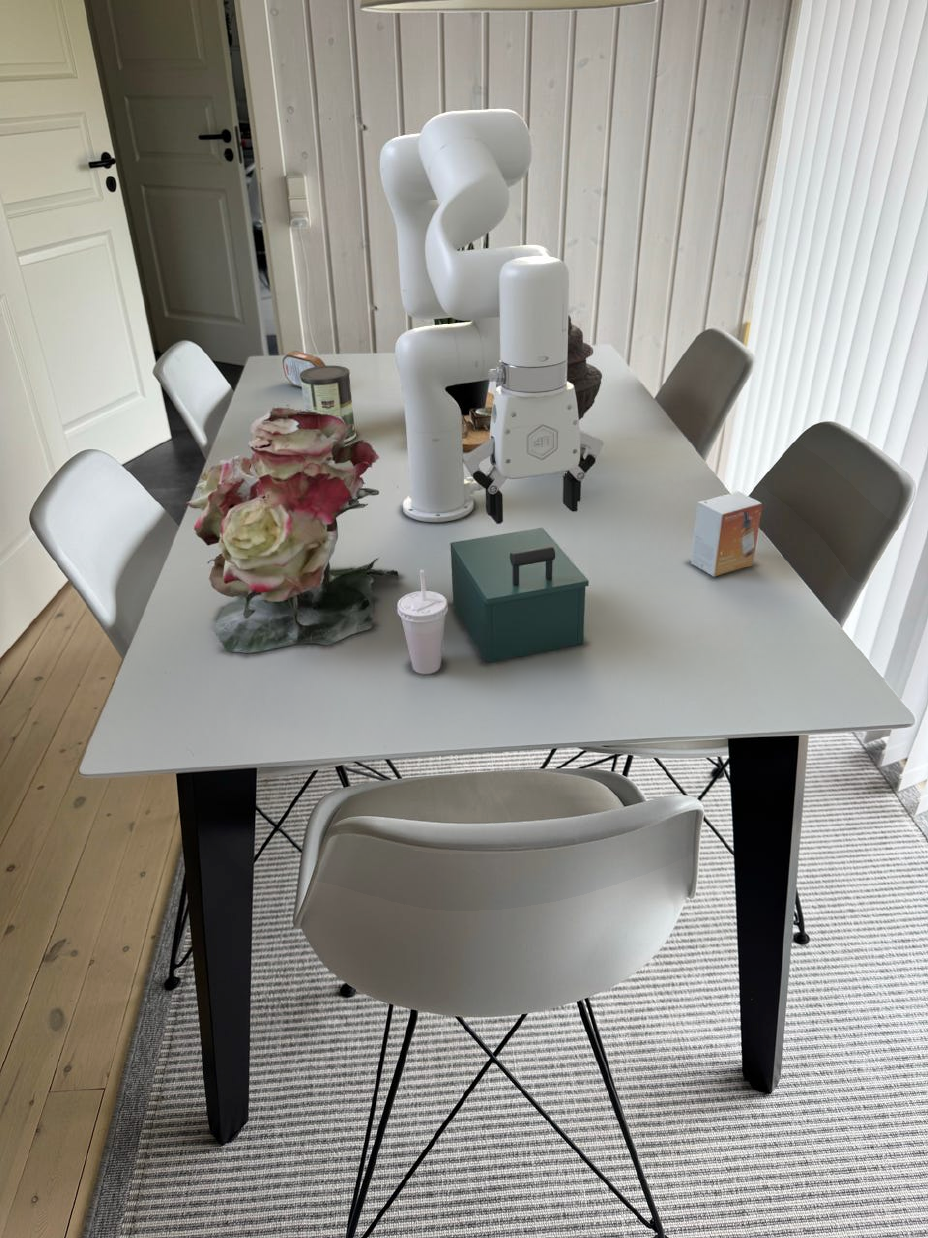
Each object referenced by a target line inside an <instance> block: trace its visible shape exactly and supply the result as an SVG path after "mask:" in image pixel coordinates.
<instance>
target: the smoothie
mask: <svg viewBox="0 0 928 1238" xmlns="http://www.w3.org/2000/svg"><path fill="white" fill-rule="evenodd" d="M419 573H420V575H419V576H420V590H418V591H413V592H410V593H407V594H405V595H403V596H402V597H400V599H399V600H398V601H397V615H398V616H399V617H400V618H401V623H402V627H403V631H404V636H405V640H406V645H407V649H408V653H409V658H410V662H411V667H412V669H413V671H414V672H416V673H417V674H421V675H430V674H434V673H436V672H438V671H439V670H440V668H441V664H442V653H443V642H444V630H445V621H446V620H445V618H446V614H447V612H448V609H449V606H448V600H447V598H446V597H445V596H444V595H443V594H442V593H439V592H436V591H433V590H432V591H431V590H427V588H426V572H425V569H420V570H419Z"/></svg>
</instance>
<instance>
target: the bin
mask: <svg viewBox="0 0 928 1238" xmlns="http://www.w3.org/2000/svg"><path fill="white" fill-rule="evenodd" d="M450 561H451V562H450V564H451V566H450V567H451V583H452V585H451V586H452V606H453V607H454V609H455V611H456V613H457V614H458V616H459V618H460V620H461V622H462V623H463V625H464V627H465V629H466V630H467V632H468V634H469V635H470V637H471V639H472V640H473V642H474V644H475V646H476V647H477V649H478V651H479V653H480V655H481V657H482V659H484V661H485V663H486V664H487V663H492V662H497V661H503V660H508V659H512V658H517V657H523V656H528V655H533V654H537V653H544V652H548V651H553V650H558V649H564V648H568V647H573V646H574V647H575V646H578V645H583V644H584V632H585V631H584V630H585V610H586V609H585V606H586V587H580V588H575V589H569V590H564V591H558V592H553V593H547V594H542V595H536V596H531V597H525V598H520V599H514V600H509V601H503V602H498V603H492V604H486V602H485V601H484V599H483V598H482V596H481V594H480V593H479V591H478V590H477V588H476V587H475V585H474V584H473V582H472V580H471V579H470V577H469V576H468V574H467V573H466V571H465V569H464V568H463V566H462V565H461V563H460V562H459V560H458V558H457V557H456V555H455V554H454V552H453V551H452V549H451V548H450Z"/></svg>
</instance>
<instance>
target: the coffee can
mask: <svg viewBox="0 0 928 1238" xmlns="http://www.w3.org/2000/svg"><path fill="white" fill-rule="evenodd" d="M300 379H301V385H302V388H301V391H302V399H303V406H304V411H306V412H308V411H310V412H317V413H321V414H328V415H330V414H331V415H333V416H336V417H341V418H342V419H343V421H344V422H345V424H346V426H347V428H348V435H347V436H346V438H345V440H344V443H345V444H346V443H349V442H351V441H353V440H354V439H355V438H356V436H357V434H356V428H355V427H356V426H355V418H354V409H353V399H352V398H353V397H352V389H351V380H350V379H351V378H350V369H349V368H347V367H346V366H341V365H326V366H318V367H313V368H309V369H306V370H304V371H302V372H301V373H300Z"/></svg>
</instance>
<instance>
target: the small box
mask: <svg viewBox="0 0 928 1238" xmlns="http://www.w3.org/2000/svg"><path fill="white" fill-rule="evenodd" d="M762 508H763V502H762V501H761V502H760V501H759V500H757V499H755V498H753V497H751V496H750V495H749V496H748V495H747V494H744V493H743V492H740V491H738V490H736V491H733V492H731V493H727V494H724V495H723V494H722V495H720V496H716V497H713V498H709V499H708V498H707V499H705V500H700V501H697V504H696V511H695V520H694V529H693V530H694V531H693V539H692V547H691V555H690V564H692V565H694V566H695V567H697V568H698V569H700V570H702V571H704V572H705V573H706V574H708V575H710V576H712V577H714V578H715V577H718V576H721V575H724V574H727V573H730V572H733V571H737V570H740V569H744V568H748V567H751V566H753V564H754V559H755V553H756V546H757V540H758V534H759V529H760V521H761V515H762Z"/></svg>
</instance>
